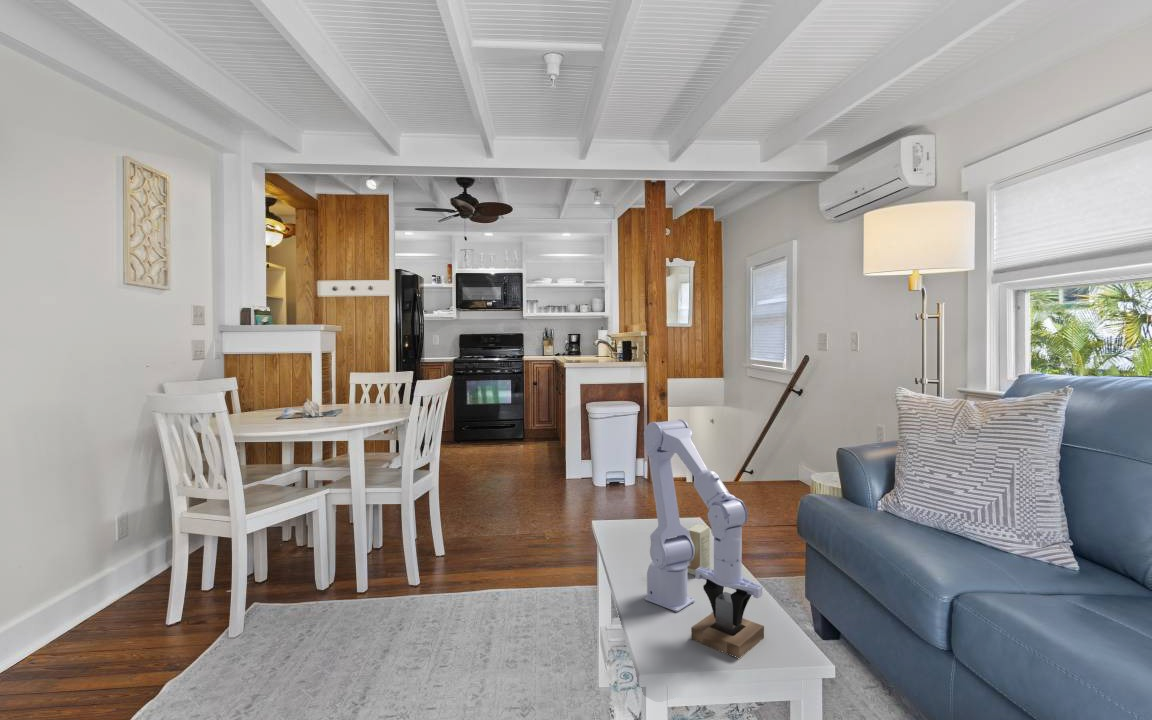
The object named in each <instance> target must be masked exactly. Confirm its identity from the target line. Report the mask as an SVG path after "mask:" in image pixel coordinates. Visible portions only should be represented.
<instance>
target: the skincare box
mask: <svg viewBox="0 0 1152 720" xmlns="http://www.w3.org/2000/svg"><path fill="white" fill-rule="evenodd" d="M710 527H711V526H707V525H702V524H697V523H696V524H693V525H692V526H690V527H688V528H687V529H688V530H689V532H690V537H691V540H692V542H693V544H694V547H695V555H694V558H693V560H691V561H690V566H688V567H687V574H690V575H693V576H696V569H698V568H699V567H702V568H706V569H711V551H710V550H711V547H710V546H711V545H710V544H711V539H710V537H711V535H710V534H711V533H710V532H711V530H710V529H711V528H710Z"/></svg>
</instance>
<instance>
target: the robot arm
mask: <svg viewBox="0 0 1152 720" xmlns="http://www.w3.org/2000/svg"><path fill="white" fill-rule="evenodd" d="M643 437H644V445H645V450H646V456H647V457H648V461H649V462H648V463H649V469H650V476H651V482H652V483H651V484H652V491H653V496H654V504H655V511H656V518H657V522H658V523H657V524H658V525H657V527H656V528H655V529H654V530H653V532H652V533H651V534H650V536H649V540H650V547H649V555H650V559H651V560H652V562H650V563H649V565H648V568H647V572H646V596H645V598H644V599H645V601H647V602H650V603H654V604H655V605H657V606H660V607H663V608H666V609H669V610H670V611H673V612H676V613H678V612H679V611H682V609H685V608H686V607H687V606H690V605H691V604H692V603H694V602H695V598H693V597H691V596H688V595H689V594H688V592H689V591H688V590H689V589H688V587H689V586H688V585H689V584H688V583H689V582H688V573H687V567H688V566H690V561H691V560H693V558H694V555H695V547H694V544H693V542H692V540H691V537H690V532H689V530H688V528H686V527H685V526H684V525H682V524H681V519H680V513H679V507H678V501H677V496H676V495H677V494H676V488H675V487H676V486H675V482H674V474H673V469H672V463H671V462H672V461H671V459H672V458H673V457H674V455H675V454H676V455H677V456H678V457H679V459H680V460H681V462H682V463H683V464H684V465H685V466H686V469H688V471H689V473H691V475H692V476H693V478H694V481H693V487H694V488H695V490H696V492H697V493H698V495H699V496H700V498H701V499H702V501H703V503H704V505H705V506H706V508H707V509H708V512H707V520H708V522H709V524H710V527H711V528H710V529H711V530H710V532H711V533H710V534H712V536H713V569H711V568H710V569H706V568H702V567H699V568H698V569H696V575H695V578H696V579H697V580H701V579H702V580H705V584H703V586H702V588H703V591H704V593H705V594H706V595H707V597H708V600H709V602H710V605H711V610H712V613H713V614H714V618H716V597H717V596H719V595H721V594H722V593H724V588H729V589H733V590H735V591H734V592H733V593H730V594H731V600H732V604H733V621H734V625H735V626H738V625H740V624H741V622H742V618H744V613H745V610H746V608H747V605H748V603H749V600H750V598H751V597H752V596H753V598H755V599H759V598H761V597H762V596H763V586H762V585H760V584H757V583H755V582H754V581H751V580H749V579H747V578H745V577H744V576H743V574H742V572H743V571H742V570H743V569H742V568H743V566H742V565H743V564H742V559H743V556H742V555H743V554H742V552H743V551H742V550H743V549H742V546H743V545H742V539H743V538H742V537H743V536H742V535H743V533H742V531H743V530H742V527H743V526H744V525H745V524H746V523H747V521H748V518H749V514H748V510H747V507H746V505H745V503H744V501H743V500H741V499H740V498H738V497H736V496H735V495H734V494H731V493H730V491H729V490H728V489H727V487H726V486H725V484H724V483H723V481H722V480H721V478H720V476H719V475H718V473H717V472H716V471H713V470H709V469H708V468H707V466H706V464H705V462H704V460H703V459H702V457H701V454H700V453H699V451H698V450H697V447H696V446H695V444H694V442H693V441H692V440H693V430H692V429H691V428H690V427H689V423H687V421H686V420H683V419H677V420H667V421H666V420H665V421H651V422H649V423H648V424H647V425H646V428H645V429H644V431H643Z"/></svg>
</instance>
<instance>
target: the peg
mask: <svg viewBox="0 0 1152 720" xmlns="http://www.w3.org/2000/svg"><path fill="white" fill-rule="evenodd" d="M731 594H732V593H730V592H727V591H723V593H722V594H721V595H719V596H717V597H716V626H715V629H716V630H718V631H721V632H723V633H726V634H728V635H731V636H735V635H736V634H737V633H738V632H740V631H741V630H742V622H741V624H740V625H738V626H735V625H734V621H733V604H732V600H731Z"/></svg>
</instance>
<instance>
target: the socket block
mask: <svg viewBox="0 0 1152 720" xmlns="http://www.w3.org/2000/svg"><path fill="white" fill-rule="evenodd" d="M715 626H716V618H714V614H713V612H711V613H710V614H708V615H707V616H705V617H704V618H703V619H701V620H699V621H698V622H697V623H696V624H694V625H693V626H691V629H690V630H691V631H690V632H691V634H690V635H691V640H693V641H696V642H698V643H700V644H703V645H705V646H708V647H709V648H712V649H715V650H717V651H719V650H720V652H721V651H723V652H722V653H724V652H725V653H724V654H726V653H728V654H727V655H729V654H731V655H733V656H736V657H738V658H740V657H741V656H742V655H743V654H745V653H746V652H747V651H748V650H749V651H750V650H752V649H753V648H754V647H755V646H756V645H757V644H758V643H760V642H761V641H762V640H764V638H765V625H762V624H759V623H756V622H754V621H752V620H749V619H745V618H744V617H742V630H741V631H740V632H738V633H737V634H736V635H735V636H731V635H728V634H726V633H723V632H721V631H718V630H716V629H715ZM760 640H761V641H760ZM759 641H760V642H759ZM753 646H754V647H753ZM752 647H753V648H752ZM749 651H748V652H749ZM748 652H747V653H748ZM747 653H746V654H747ZM746 654H745V655H746ZM731 655H730V656H731ZM733 656H732V657H733ZM743 656H744V655H743ZM743 656H742V657H743ZM736 657H735V658H736ZM742 657H741V658H742ZM738 658H737V659H738ZM741 658H740V659H741Z"/></svg>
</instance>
